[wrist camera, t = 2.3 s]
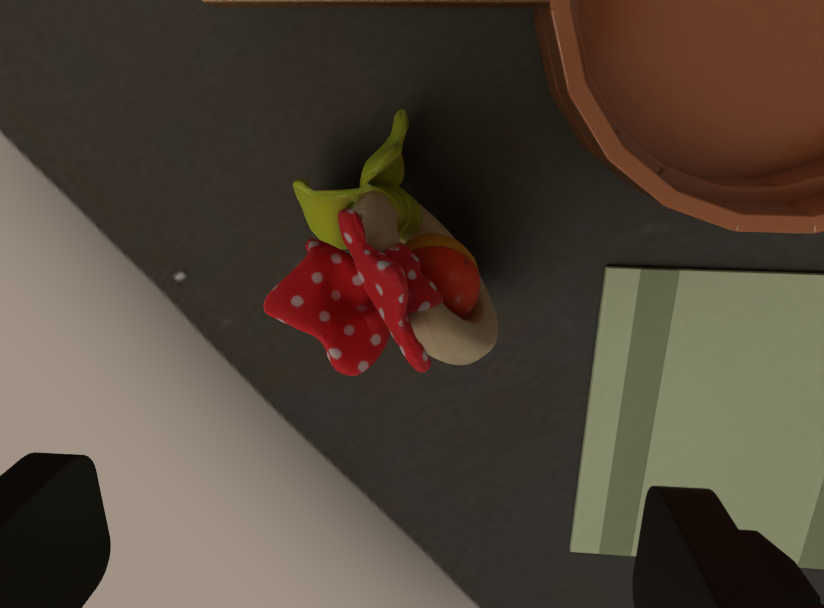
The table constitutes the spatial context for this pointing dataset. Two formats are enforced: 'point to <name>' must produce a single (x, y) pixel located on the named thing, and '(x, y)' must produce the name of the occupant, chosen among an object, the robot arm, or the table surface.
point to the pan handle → (377, 3)
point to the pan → (698, 102)
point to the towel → (706, 404)
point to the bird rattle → (384, 274)
